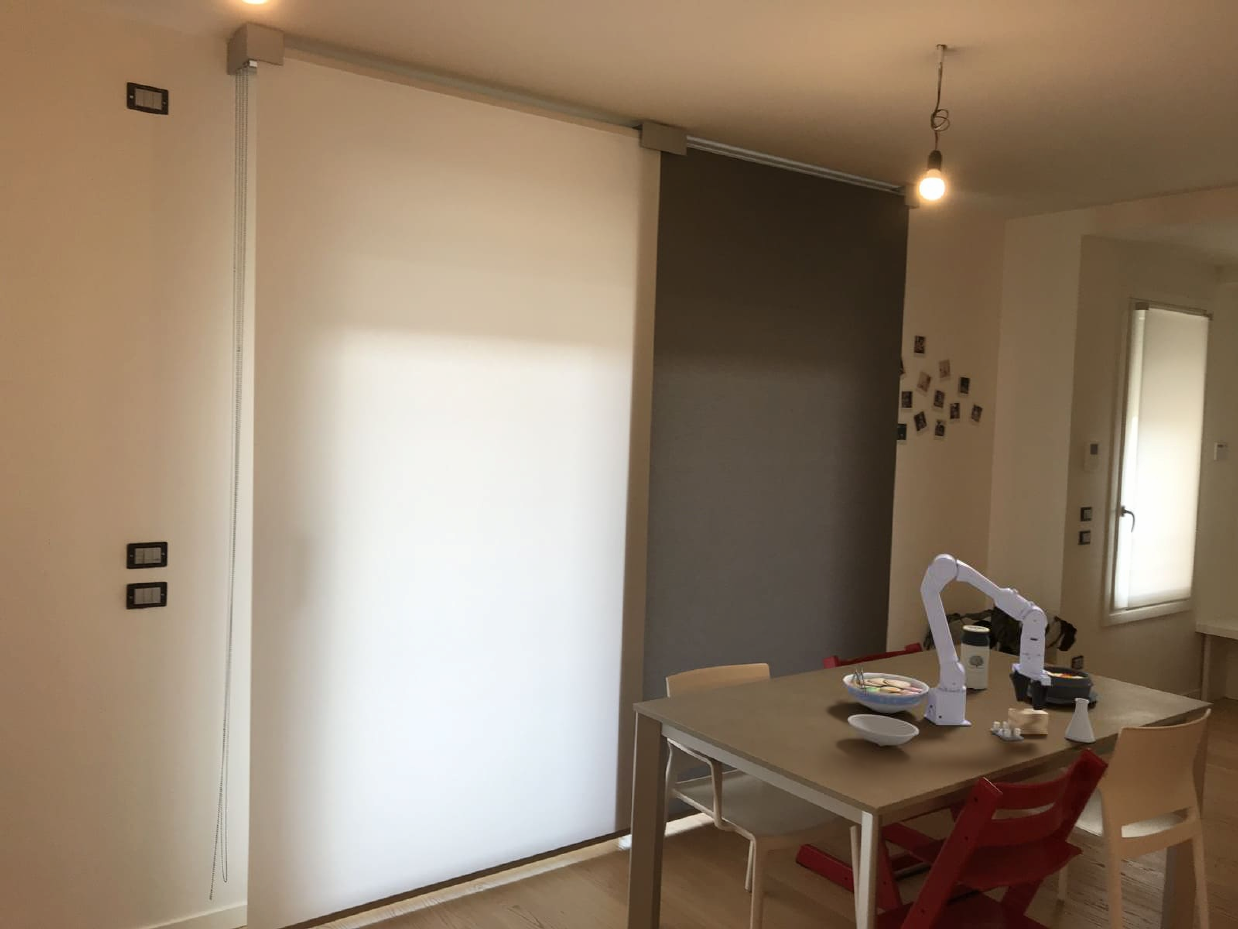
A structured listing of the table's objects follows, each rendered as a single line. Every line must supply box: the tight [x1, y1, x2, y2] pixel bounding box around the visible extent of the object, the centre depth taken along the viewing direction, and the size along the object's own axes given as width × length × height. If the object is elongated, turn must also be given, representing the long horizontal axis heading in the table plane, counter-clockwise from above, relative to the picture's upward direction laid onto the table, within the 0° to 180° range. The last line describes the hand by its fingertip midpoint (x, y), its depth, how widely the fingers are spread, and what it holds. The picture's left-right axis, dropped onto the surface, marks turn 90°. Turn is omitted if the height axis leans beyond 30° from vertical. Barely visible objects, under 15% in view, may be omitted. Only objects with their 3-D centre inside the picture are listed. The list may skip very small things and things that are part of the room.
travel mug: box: [959, 625, 991, 690], centre depth 289 cm, size 8×8×18 cm
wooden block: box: [1007, 708, 1050, 736], centre depth 245 cm, size 8×4×6 cm, turn 97°
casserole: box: [1027, 665, 1099, 706], centre depth 278 cm, size 25×19×8 cm
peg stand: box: [989, 721, 1025, 741], centre depth 241 cm, size 5×7×2 cm
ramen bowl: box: [842, 666, 930, 714], centre depth 259 cm, size 25×23×8 cm
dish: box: [847, 714, 920, 747], centre depth 229 cm, size 18×14×5 cm
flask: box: [1064, 698, 1096, 744], centre depth 241 cm, size 7×7×10 cm
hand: (1029, 705), depth 245 cm, fingers open, 7 cm apart
